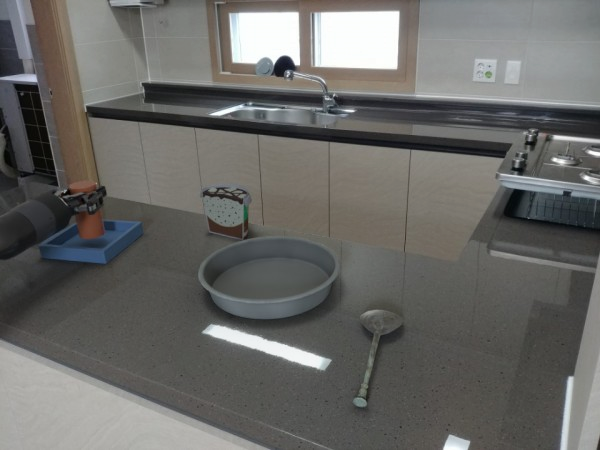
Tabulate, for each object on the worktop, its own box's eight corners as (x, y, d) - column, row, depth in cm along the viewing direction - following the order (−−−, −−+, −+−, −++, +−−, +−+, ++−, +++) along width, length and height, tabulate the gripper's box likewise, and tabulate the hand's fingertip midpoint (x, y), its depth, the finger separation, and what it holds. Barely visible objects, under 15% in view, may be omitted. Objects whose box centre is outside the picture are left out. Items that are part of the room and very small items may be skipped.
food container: (265, 231, 117) (262, 187, 114) (249, 241, 113) (245, 197, 109) (221, 221, 123) (217, 180, 119) (203, 231, 119) (198, 188, 115)
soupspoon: (405, 320, 85) (364, 317, 87) (405, 301, 84) (364, 298, 86) (385, 412, 65) (333, 405, 67) (385, 390, 64) (331, 383, 66)
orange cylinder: (74, 238, 111) (63, 187, 106) (88, 228, 115) (79, 179, 111) (96, 240, 110) (86, 189, 105) (110, 230, 114) (101, 181, 110)
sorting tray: (41, 257, 109) (38, 245, 108) (85, 228, 122) (82, 217, 121) (106, 264, 105) (103, 251, 104) (143, 233, 118) (141, 221, 117)
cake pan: (287, 244, 111) (286, 224, 109) (369, 291, 92) (370, 268, 91) (177, 282, 98) (174, 260, 96) (247, 345, 79) (245, 319, 77)
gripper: (67, 203, 93) (119, 173, 108) (-3, 198, 96) (58, 170, 112) (75, 242, 96) (125, 208, 111) (8, 236, 99) (65, 204, 114)
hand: (91, 189), depth 111 cm, fingers closed on orange cylinder, 5 cm apart
